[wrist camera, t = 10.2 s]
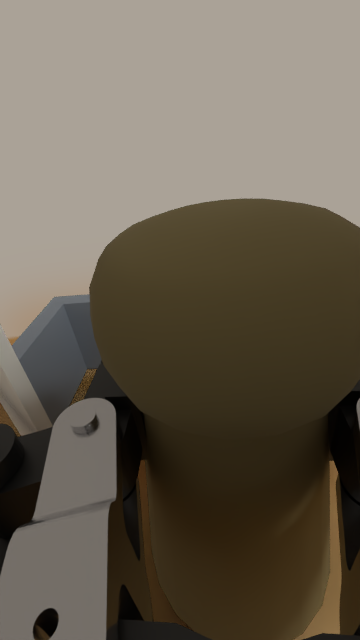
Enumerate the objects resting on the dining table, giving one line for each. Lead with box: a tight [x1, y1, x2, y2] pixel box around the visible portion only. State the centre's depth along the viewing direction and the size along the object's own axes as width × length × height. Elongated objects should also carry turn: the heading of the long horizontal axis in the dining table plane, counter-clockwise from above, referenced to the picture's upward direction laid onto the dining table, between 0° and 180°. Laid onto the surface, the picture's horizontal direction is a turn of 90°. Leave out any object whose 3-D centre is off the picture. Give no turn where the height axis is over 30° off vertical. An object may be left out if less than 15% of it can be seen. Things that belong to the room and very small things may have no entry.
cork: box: [89, 199, 360, 640], centre depth 8 cm, size 6×6×11 cm
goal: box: [0, 294, 102, 436], centre depth 15 cm, size 20×7×7 cm, turn 86°
